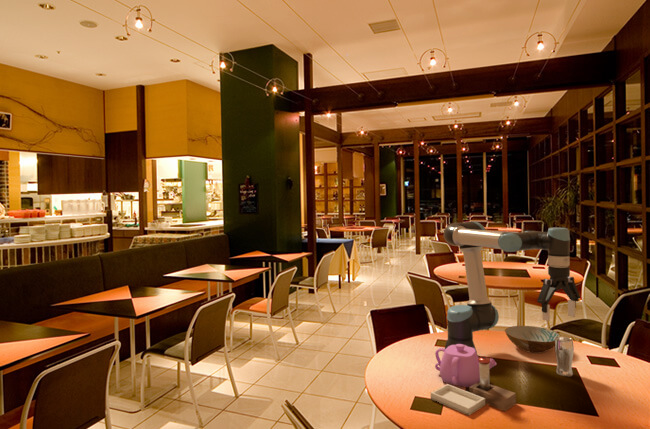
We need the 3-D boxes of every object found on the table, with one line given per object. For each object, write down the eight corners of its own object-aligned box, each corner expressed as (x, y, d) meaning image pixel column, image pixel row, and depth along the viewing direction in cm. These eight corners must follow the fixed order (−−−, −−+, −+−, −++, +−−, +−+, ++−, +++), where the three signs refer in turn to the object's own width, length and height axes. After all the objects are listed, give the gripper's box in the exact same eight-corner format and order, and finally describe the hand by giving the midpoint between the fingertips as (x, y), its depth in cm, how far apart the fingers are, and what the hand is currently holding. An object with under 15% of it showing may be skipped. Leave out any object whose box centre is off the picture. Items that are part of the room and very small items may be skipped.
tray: (430, 399, 153) (430, 392, 152) (447, 390, 159) (447, 383, 159) (468, 415, 140) (468, 408, 140) (485, 405, 147) (485, 398, 147)
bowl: (517, 337, 219) (516, 322, 218) (568, 348, 200) (568, 332, 200) (496, 349, 202) (496, 333, 201) (550, 362, 183) (550, 345, 183)
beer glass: (576, 377, 167) (576, 341, 167) (558, 376, 169) (558, 341, 168) (570, 370, 174) (569, 336, 174) (552, 369, 176) (552, 335, 175)
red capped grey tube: (476, 397, 153) (475, 358, 152) (482, 393, 156) (481, 355, 155) (487, 401, 149) (486, 362, 149) (493, 397, 152) (492, 358, 152)
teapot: (430, 371, 178) (429, 339, 178) (474, 366, 181) (473, 335, 181) (450, 390, 159) (449, 355, 159) (498, 385, 162) (498, 350, 162)
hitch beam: (469, 397, 153) (469, 387, 153) (480, 390, 158) (480, 380, 158) (505, 411, 142) (505, 400, 142) (516, 403, 147) (515, 393, 147)
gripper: (542, 270, 153) (543, 324, 154) (590, 265, 161) (590, 317, 162) (527, 267, 160) (527, 319, 161) (573, 262, 169) (573, 312, 169)
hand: (559, 318), depth 162 cm, fingers open, 13 cm apart
